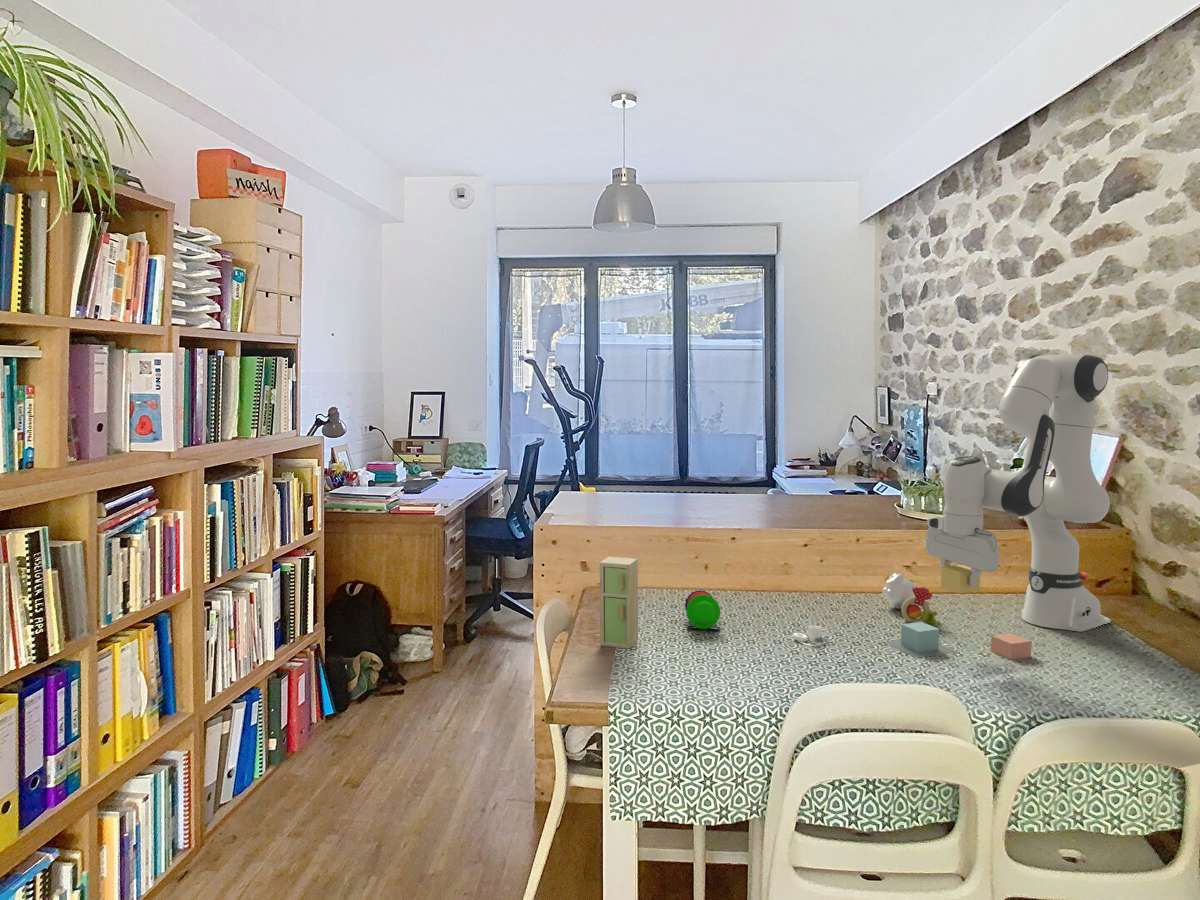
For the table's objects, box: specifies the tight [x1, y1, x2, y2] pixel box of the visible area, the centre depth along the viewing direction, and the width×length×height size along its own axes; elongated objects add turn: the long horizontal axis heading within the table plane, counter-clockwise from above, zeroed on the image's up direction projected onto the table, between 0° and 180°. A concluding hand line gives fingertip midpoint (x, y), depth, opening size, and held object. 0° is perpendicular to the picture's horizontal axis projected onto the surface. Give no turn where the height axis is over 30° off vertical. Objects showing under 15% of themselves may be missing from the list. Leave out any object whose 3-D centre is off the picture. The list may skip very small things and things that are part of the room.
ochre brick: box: [940, 564, 981, 594], centre depth 200 cm, size 6×6×5 cm
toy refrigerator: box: [599, 556, 639, 649], centre depth 205 cm, size 8×7×21 cm
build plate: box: [882, 639, 957, 659], centre depth 201 cm, size 12×12×1 cm
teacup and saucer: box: [792, 624, 828, 648], centre depth 209 cm, size 9×8×4 cm
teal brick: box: [900, 622, 940, 652], centre depth 200 cm, size 6×6×5 cm
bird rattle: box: [900, 586, 939, 627], centre depth 220 cm, size 6×11×9 cm
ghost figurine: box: [881, 573, 917, 610], centre depth 236 cm, size 9×10×10 cm
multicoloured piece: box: [684, 590, 721, 630], centre depth 221 cm, size 9×10×15 cm
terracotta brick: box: [990, 632, 1033, 660], centre depth 196 cm, size 6×6×5 cm
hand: (960, 581), depth 201 cm, fingers closed on ochre brick, 6 cm apart
